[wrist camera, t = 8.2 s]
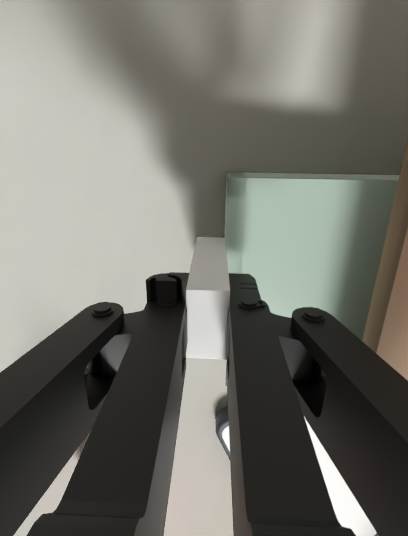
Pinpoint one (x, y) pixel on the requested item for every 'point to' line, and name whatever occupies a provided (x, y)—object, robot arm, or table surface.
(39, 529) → the robot arm
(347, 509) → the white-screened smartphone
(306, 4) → the table surface
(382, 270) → the walnut shelf
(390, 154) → the table surface
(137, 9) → the table surface
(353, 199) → the bevelled sage-green slab
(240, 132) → the table surface
